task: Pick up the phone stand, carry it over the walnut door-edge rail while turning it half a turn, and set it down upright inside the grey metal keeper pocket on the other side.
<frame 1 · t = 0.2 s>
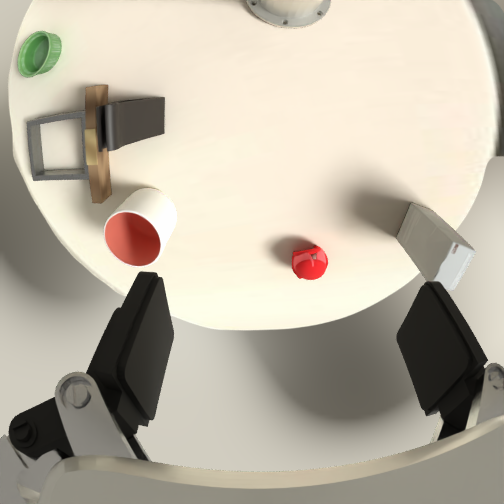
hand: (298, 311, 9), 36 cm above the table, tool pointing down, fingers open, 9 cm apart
keeper: (64, 144, 39), on the table
skincare box: (413, 221, 47), on the table
door edge rail: (103, 141, 39), on the table
phone stand: (139, 116, 38), on the table
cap: (307, 254, 52), on the table
cup: (152, 211, 47), on the table
ramekin: (47, 53, 29), on the table
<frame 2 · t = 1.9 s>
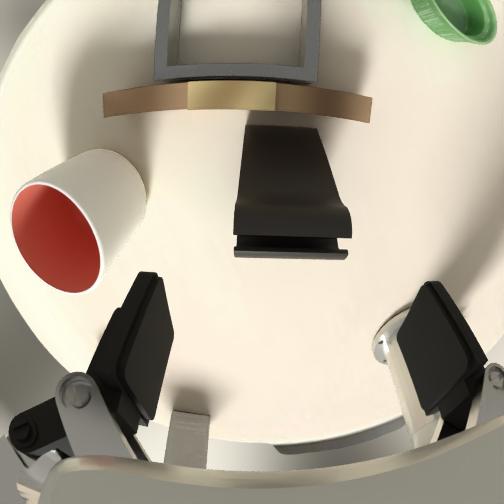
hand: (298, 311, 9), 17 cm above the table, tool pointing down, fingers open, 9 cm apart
keeper: (240, 1, 15), on the table
skincare box: (192, 416, 51), on the table
door edge rail: (236, 95, 20), on the table
phone stand: (278, 174, 24), on the table
cup: (108, 192, 25), on the table
ramekin: (439, 7, 13), on the table
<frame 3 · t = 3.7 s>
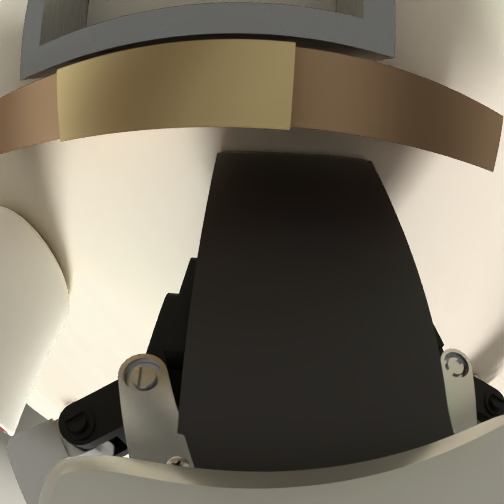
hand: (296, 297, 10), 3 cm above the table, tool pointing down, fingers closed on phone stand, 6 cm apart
door edge rail: (196, 86, 9), on the table
phone stand: (288, 248, 13), on the table, touching gripper
cup: (22, 263, 14), on the table
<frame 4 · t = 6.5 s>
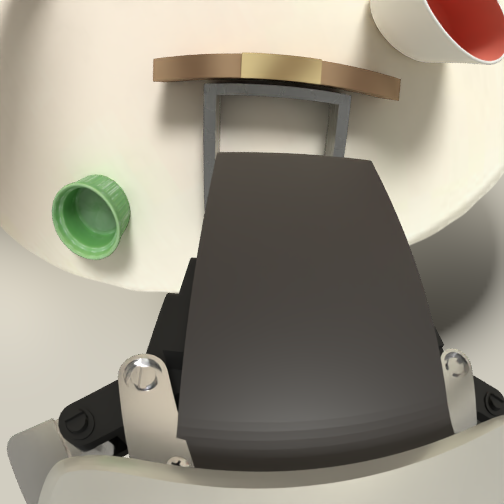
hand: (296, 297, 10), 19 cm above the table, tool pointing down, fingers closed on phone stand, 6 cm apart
keeper: (271, 162, 26), on the table
door edge rail: (277, 71, 21), on the table
phone stand: (287, 248, 13), point 15 cm above the table, touching gripper
cup: (408, 20, 16), on the table
ramekin: (102, 205, 28), on the table
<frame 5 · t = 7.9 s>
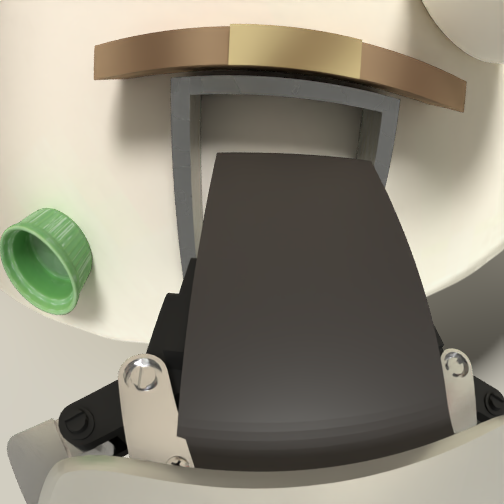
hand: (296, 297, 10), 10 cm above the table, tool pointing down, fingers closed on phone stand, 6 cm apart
keeper: (277, 194, 18), on the table
door edge rail: (287, 58, 13), on the table
phone stand: (287, 248, 13), point 7 cm above the table, touching gripper
cup: (458, 4, 9), on the table
ramekin: (60, 244, 21), on the table
when the fingers open (5 cm above the table, at t = 9.3 s): phone stand drops 2 cm, resting in keeper.
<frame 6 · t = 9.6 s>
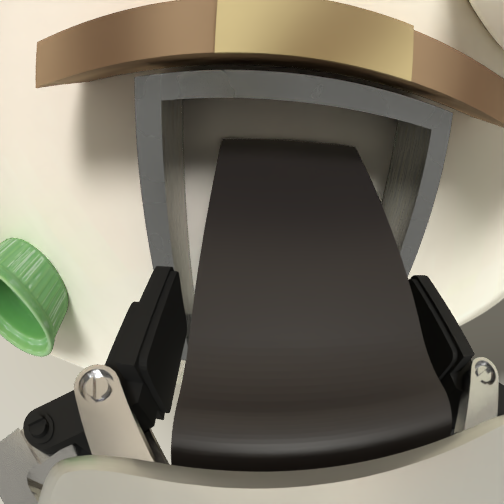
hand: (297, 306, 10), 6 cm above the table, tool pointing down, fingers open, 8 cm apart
keeper: (284, 230, 14), on the table
door edge rail: (300, 48, 9), on the table
phone stand: (283, 224, 14), resting in keeper
cup: (498, 0, 5), on the table
ramekin: (33, 277, 17), on the table
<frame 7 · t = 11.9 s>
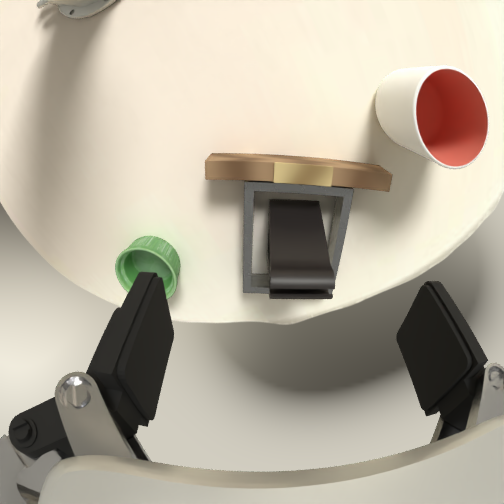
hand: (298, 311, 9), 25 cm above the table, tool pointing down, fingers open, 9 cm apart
keeper: (292, 233, 35), on the table
door edge rail: (298, 164, 31), on the table
phone stand: (291, 231, 35), resting in keeper
cup: (407, 107, 26), on the table
ramekin: (155, 258, 39), on the table
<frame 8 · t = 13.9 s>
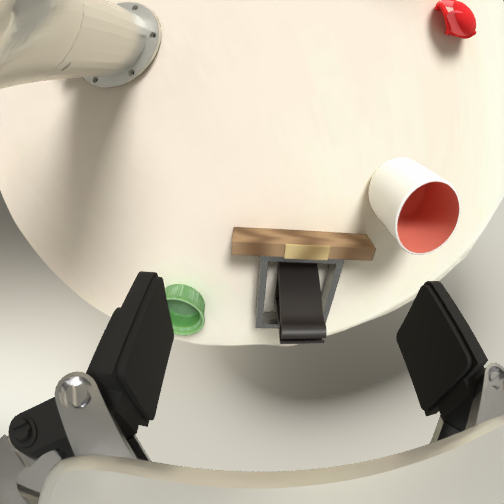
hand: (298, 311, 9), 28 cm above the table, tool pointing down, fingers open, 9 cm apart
keeper: (294, 284, 45), on the table
door edge rail: (302, 236, 40), on the table
phone stand: (294, 282, 45), resting in keeper
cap: (446, 19, 20), on the table
cup: (395, 187, 36), on the table
ramekin: (183, 299, 48), on the table
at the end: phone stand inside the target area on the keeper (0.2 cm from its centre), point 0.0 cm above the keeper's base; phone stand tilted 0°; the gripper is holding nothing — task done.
